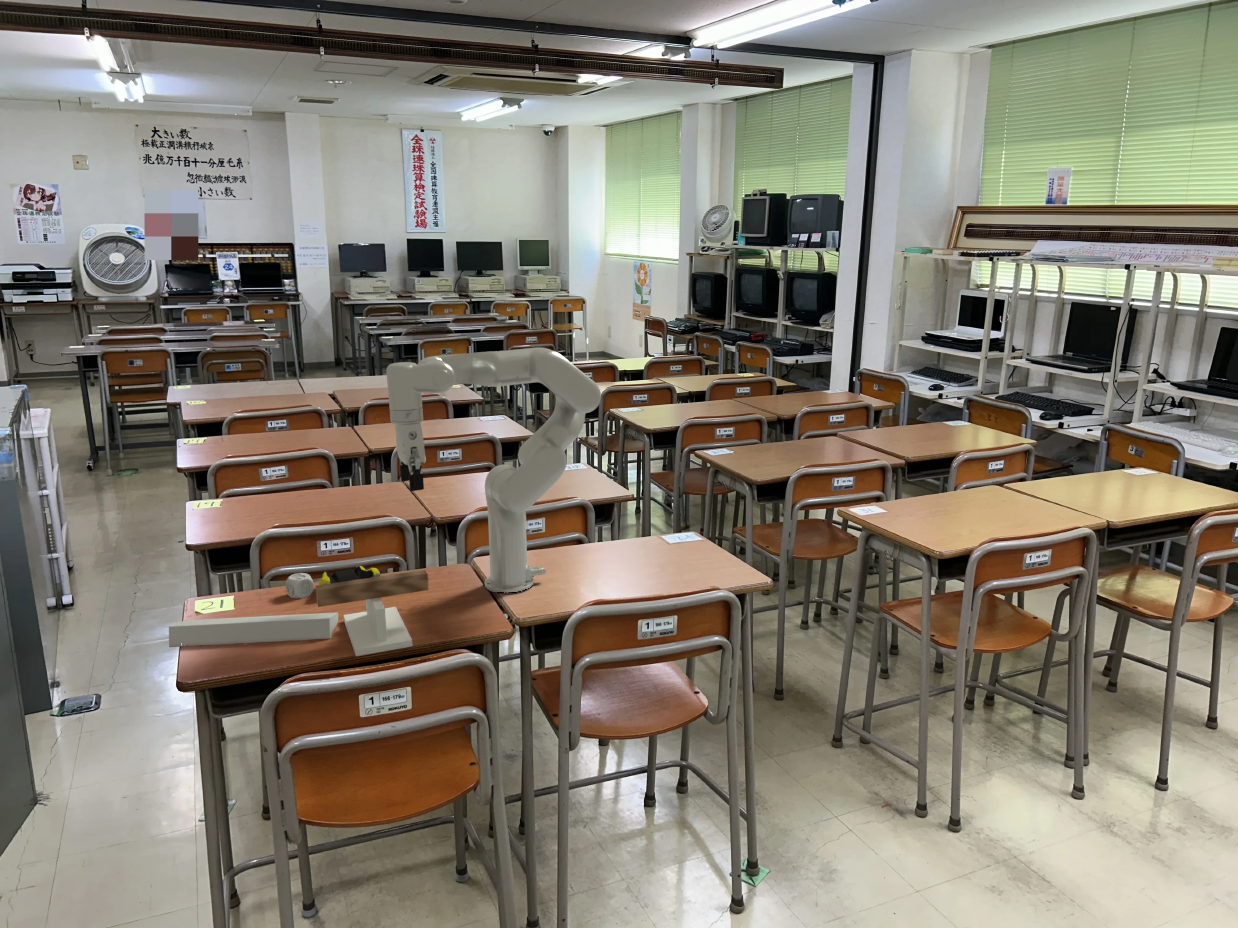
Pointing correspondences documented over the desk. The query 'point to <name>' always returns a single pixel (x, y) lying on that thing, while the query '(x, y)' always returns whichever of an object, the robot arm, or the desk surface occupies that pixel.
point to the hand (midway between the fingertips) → (412, 485)
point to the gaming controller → (349, 575)
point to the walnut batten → (371, 588)
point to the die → (299, 585)
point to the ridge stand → (376, 629)
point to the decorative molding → (253, 629)
